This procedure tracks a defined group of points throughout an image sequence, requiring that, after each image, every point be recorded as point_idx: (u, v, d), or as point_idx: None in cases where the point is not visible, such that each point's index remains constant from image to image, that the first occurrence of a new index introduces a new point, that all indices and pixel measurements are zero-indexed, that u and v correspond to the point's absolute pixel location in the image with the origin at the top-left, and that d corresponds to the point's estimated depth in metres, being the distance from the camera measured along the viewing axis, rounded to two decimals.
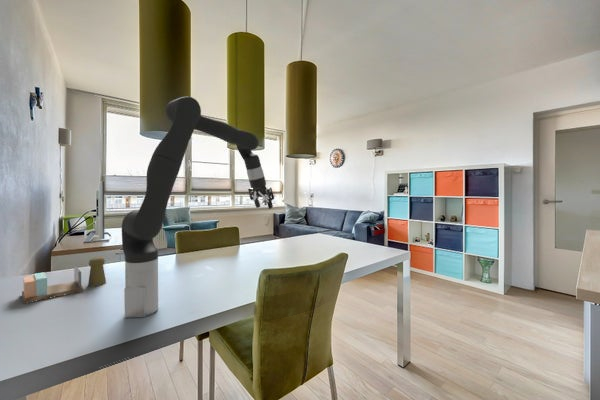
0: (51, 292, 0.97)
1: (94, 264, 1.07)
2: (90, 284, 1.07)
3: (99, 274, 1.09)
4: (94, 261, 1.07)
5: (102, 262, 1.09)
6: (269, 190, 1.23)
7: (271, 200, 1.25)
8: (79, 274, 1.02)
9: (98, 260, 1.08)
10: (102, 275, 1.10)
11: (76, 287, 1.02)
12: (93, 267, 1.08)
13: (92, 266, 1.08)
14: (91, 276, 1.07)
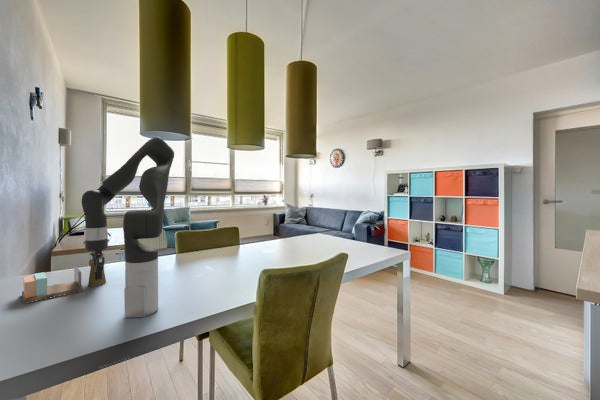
0: (51, 292, 0.97)
1: None
2: (90, 284, 1.07)
3: None
4: None
5: None
6: None
7: None
8: (79, 274, 1.02)
9: None
10: (102, 275, 1.10)
11: (76, 287, 1.02)
12: (93, 267, 1.08)
13: (92, 266, 1.08)
14: (91, 276, 1.07)
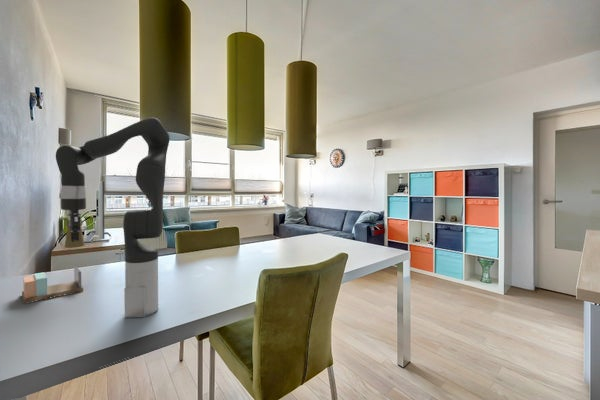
0: (51, 292, 0.97)
1: None
2: (66, 245, 1.02)
3: None
4: None
5: None
6: None
7: None
8: (79, 274, 1.02)
9: None
10: (79, 237, 1.04)
11: (76, 287, 1.02)
12: (70, 227, 1.02)
13: (68, 226, 1.02)
14: (67, 237, 1.02)
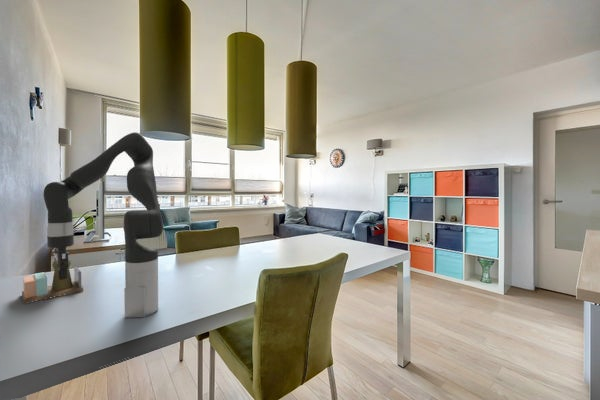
0: (51, 292, 0.97)
1: None
2: (53, 288, 0.99)
3: None
4: None
5: None
6: None
7: None
8: (79, 274, 1.02)
9: None
10: (67, 278, 1.01)
11: (76, 287, 1.02)
12: (57, 269, 0.99)
13: (56, 268, 0.99)
14: (55, 279, 0.99)
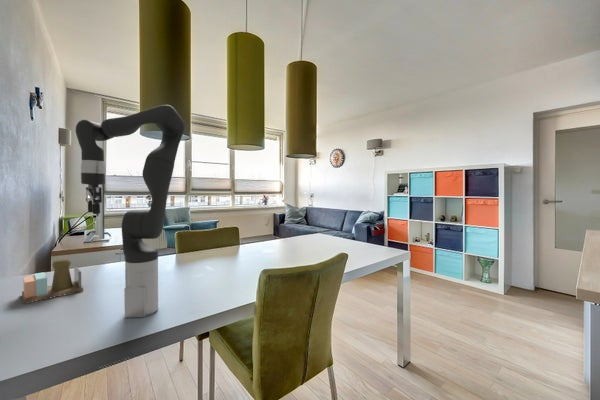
0: (51, 292, 0.97)
1: (58, 266, 0.99)
2: (53, 288, 0.99)
3: (64, 277, 1.00)
4: (58, 263, 0.99)
5: (67, 264, 1.01)
6: None
7: None
8: (79, 274, 1.02)
9: (62, 262, 1.00)
10: (67, 278, 1.01)
11: (76, 287, 1.02)
12: (57, 269, 0.99)
13: (56, 268, 0.99)
14: (55, 279, 0.99)
